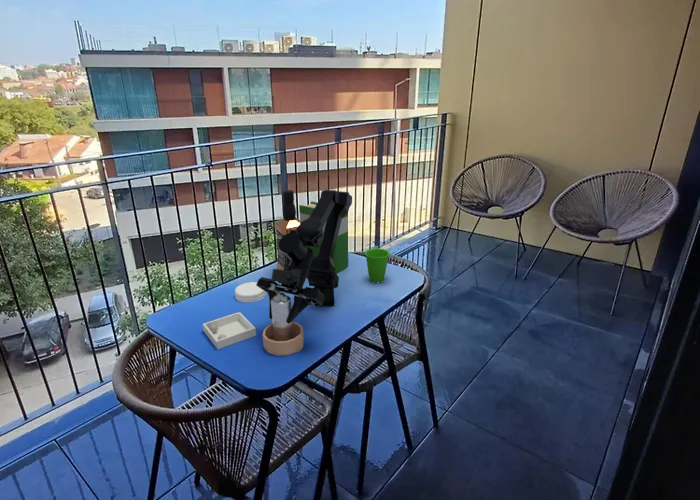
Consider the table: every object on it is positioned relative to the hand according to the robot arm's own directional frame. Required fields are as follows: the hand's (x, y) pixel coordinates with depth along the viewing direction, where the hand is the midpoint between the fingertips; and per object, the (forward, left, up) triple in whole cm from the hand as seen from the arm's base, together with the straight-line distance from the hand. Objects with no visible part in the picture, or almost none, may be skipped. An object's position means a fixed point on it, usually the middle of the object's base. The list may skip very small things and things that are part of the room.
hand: (279, 320), depth 109 cm
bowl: (-1, -1, -8) cm, 9 cm away
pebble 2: (+16, -3, -8) cm, 18 cm away
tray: (+15, -7, -8) cm, 19 cm away
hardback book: (-12, -55, -9) cm, 57 cm away
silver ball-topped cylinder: (-1, -1, -6) cm, 7 cm away
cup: (-31, -40, -9) cm, 51 cm away
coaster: (+13, -30, -9) cm, 34 cm away
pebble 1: (+20, -8, -8) cm, 23 cm away
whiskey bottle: (0, -48, -9) cm, 49 cm away
